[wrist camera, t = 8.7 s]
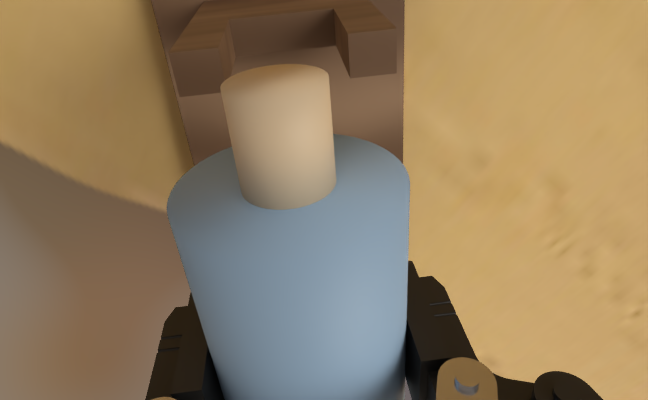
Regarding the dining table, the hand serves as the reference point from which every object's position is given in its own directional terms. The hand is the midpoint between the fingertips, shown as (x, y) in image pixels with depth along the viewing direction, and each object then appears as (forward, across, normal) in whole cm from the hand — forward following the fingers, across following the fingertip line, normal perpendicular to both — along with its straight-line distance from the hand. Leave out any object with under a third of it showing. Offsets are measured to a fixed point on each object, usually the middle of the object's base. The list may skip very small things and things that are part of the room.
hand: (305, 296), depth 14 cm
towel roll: (+1, 0, 0) cm, 1 cm away
